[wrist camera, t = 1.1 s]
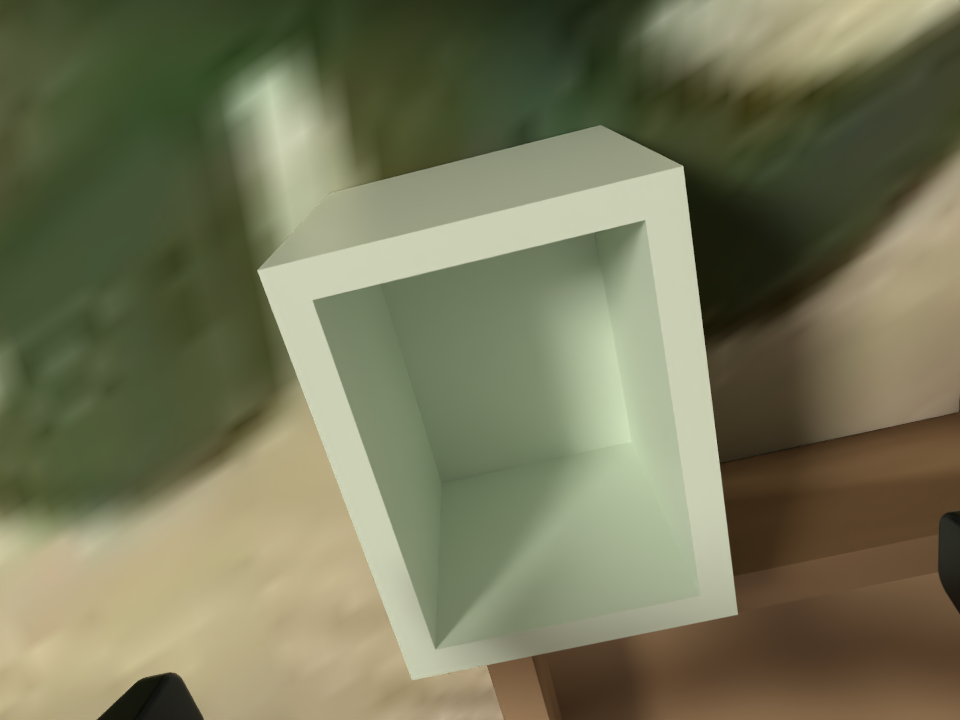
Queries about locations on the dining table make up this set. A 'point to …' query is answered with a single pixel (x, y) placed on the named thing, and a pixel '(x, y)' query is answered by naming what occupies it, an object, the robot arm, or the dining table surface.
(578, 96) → the dining table surface
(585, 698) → the crate
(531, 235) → the small crate
